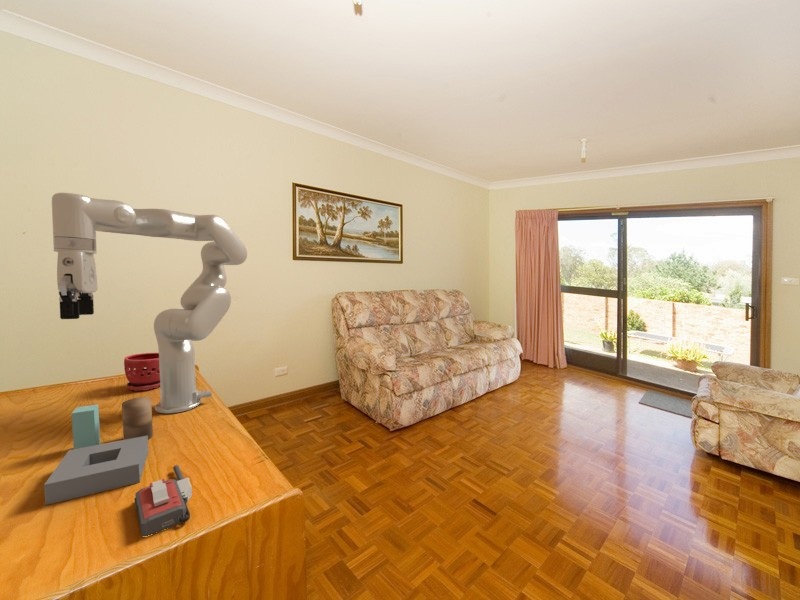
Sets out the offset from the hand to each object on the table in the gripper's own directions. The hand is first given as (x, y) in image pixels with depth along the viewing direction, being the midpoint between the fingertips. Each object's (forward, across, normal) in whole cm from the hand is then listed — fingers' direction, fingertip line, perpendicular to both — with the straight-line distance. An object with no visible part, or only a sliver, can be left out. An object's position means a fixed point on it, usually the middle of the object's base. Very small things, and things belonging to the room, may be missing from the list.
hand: (78, 316), depth 83 cm
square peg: (+32, -3, -2) cm, 32 cm away
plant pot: (+32, +44, -6) cm, 55 cm away
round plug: (+32, -2, -12) cm, 34 cm away
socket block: (+32, -18, -9) cm, 38 cm away
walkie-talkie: (+33, -34, -22) cm, 52 cm away
